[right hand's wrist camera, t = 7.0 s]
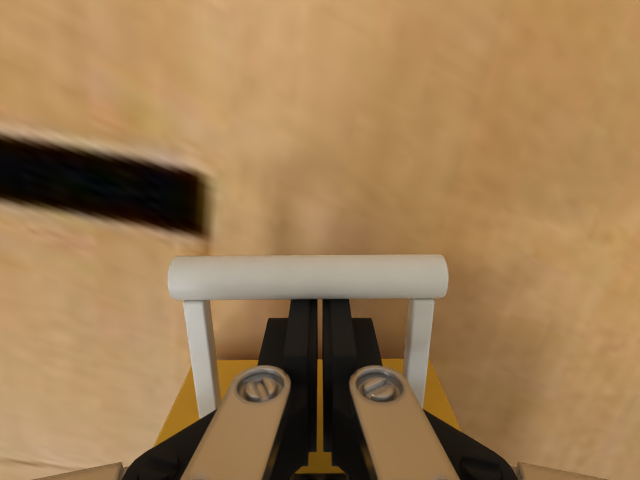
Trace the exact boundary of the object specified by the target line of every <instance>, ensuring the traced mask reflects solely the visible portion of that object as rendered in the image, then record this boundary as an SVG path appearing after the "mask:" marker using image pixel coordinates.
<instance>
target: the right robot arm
mask: <svg viewBox="0 0 640 480" xmlns="http://www.w3.org/2000/svg"><path fill="white" fill-rule="evenodd" d="M322 367H323V452H331V460H332V466H338V467H339V468H340V469H341V470H343V471H344V472H345V473H346V480H607V479H602V478H596V477H591V476H586V475H581V474H576V473H571V472H566V471H561V470H556V469H551V468H546V467H541V466H536V465H531V464H526V463H521V462H518V465H517V468H515V467H511V466H510V465H509V464H508V463H507V462H506V461H505V460H504V459H503V458H502V457H500V456H499V455H498V454H496V453H495V452H493V451H492V450H490V449H488V448H487V447H485V446H484V445H482V444H480V443H479V442H477V441H475V440H474V439H472V438H470V437H469V436H467V435H465V434H464V433H462V432H460V431H459V430H457V429H455V428H454V427H452V426H451V425H449V424H447V423H446V422H444V421H442V420H441V419H439V418H437V417H436V416H434V415H432V414H431V413H429V412H427V411H426V410H424V409H423V408H422V407H421V405H420V403H419V401H418V400H417V398H416V396H415V394H414V392H413V390H412V388H411V386H410V384H409V383H408V381H407V380H406V378H405V377H404V376H403V375H402V374H400V373H399V372H398V371H396V370H394V369H391V368H389V367H385V366H383V364H382V360H381V356H380V352H379V347H378V343H377V339H376V335H375V331H374V326H373V322H372V319H371V318H351V311H350V304H349V299H323V332H322ZM317 368H318V329H317V299H291V304H290V311H289V318H269V319H268V322H267V326H266V331H265V335H264V339H263V343H262V348H261V352H260V356H259V360H258V364H257V366H255V367H251V368H249V369H246V370H244V371H242V372H241V373H240V374H238V375H237V376H236V377H235V378H234V380H233V381H232V383H231V384H230V386H229V388H228V390H227V392H226V394H225V396H224V398H223V400H222V401H221V403H220V405H219V407H218V408H217V409H216V410H214V411H213V412H211V413H209V414H208V415H206V416H204V417H203V418H201V419H199V420H198V421H196V422H194V423H193V424H191V425H189V426H188V427H186V428H185V429H183V430H181V431H180V432H178V433H176V434H175V435H173V436H171V437H170V438H168V439H166V440H165V441H163V442H161V443H160V444H158V445H156V446H155V447H153V448H152V449H150V450H148V451H147V452H145V453H144V454H142V455H141V456H140V457H138V458H137V459H136V460H135V461H134V462H133V463H132V464H131V465H130V466H129V467H125V468H123V465H122V462H119V463H114V464H109V465H104V466H99V467H94V468H89V469H84V470H79V471H74V472H69V473H64V474H59V475H54V476H49V477H44V478H38V479H33V480H294V473H295V472H296V471H297V470H299V469H300V468H301V467H302V466H308V461H309V452H317Z"/></svg>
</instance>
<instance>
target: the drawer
mask: <svg viewBox="0 0 640 480" xmlns="http://www.w3.org/2000/svg"><path fill="white" fill-rule="evenodd" d="M448 281H449V276H448V267H447V263H446V260H445V258H444V257H443V256H442V255H440V254H389V255H245V256H176V257H174V258H173V259H172V261H171V263H170V266H169V270H168V289H169V293H170V296H171V297H172V298H173V299H175V300H184V302H183V309H184V316H185V322H186V329H187V336H188V343H189V350H190V357H191V364H192V366H191V369H190V371H189V373H188V375H187V377H186V379H185V381H184V383H183V386H182V388H181V390H180V392H179V394H178V396H177V398H176V400H175V402H174V405H173V407H172V409H171V411H170V413H169V415H168V417H167V419H166V422H165V424H164V426H163V428H162V430H161V432H160V434H159V436H158V438H157V441H156V443H155V445H154V447H155V446H156V445H158V444H160V443H161V442H163V441H165V440H166V439H168V438H170V437H171V436H173V435H175V434H176V433H178V432H180V431H181V430H183V429H185V428H186V427H188V426H189V425H191V424H193V423H194V422H196V421H198V420H199V419H201V418H203V417H204V416H206V415H208V414H209V413H211V412H213V411H214V410H216V409H217V408H218V407H219V405H220V403H221V401H222V400H223V398H224V396H225V394H226V392H227V390H228V388H229V386H230V384H231V383H232V381H233V380H234V378H235V377H236V376H237V375H238V374H240V373H241V372H242V371H244V370H246V369H249V368H251V367H255V366H257V364H258V360H217V359H216V350H215V341H214V333H213V324H212V316H211V307H210V300H272V299H403V298H409V302H408V314H407V325H406V337H405V349H404V359H381V360H382V364H383V366H385V367H389V368H391V369H394V370H396V371H398V372H399V373H400V374H402V375H403V376H404V377H405V378H406V380H407V381H408V383H409V384H410V386H411V388H412V390H413V392H414V394H415V396H416V398H417V400H418V401H419V403H420V405H421V407H422V408H423V409H424V410H426V411H427V412H429V413H431V414H432V415H434V416H436V417H437V418H439V419H441V420H442V421H444V422H446V423H447V424H449V425H451V426H452V427H454V428H455V429H457V430H459V431H460V432H462V431H461V429H460V427H459V425H458V422H457V420H456V418H455V415H454V413H453V411H452V409H451V406H450V404H449V402H448V399H447V397H446V395H445V393H444V390H443V388H442V386H441V383H440V381H439V379H438V377H437V374H436V372H435V370H434V367H433V365H432V363H431V361H430V359H428V357H429V348H430V339H431V331H432V322H433V313H434V304H435V301H434V299H433V298H442V297H444V296H445V295H446V292H447V289H448ZM294 480H346V473H345V472H344V471H343V470H341V469H340V468H339V467H338V466H332V460H331V452H323V367H322V359H318V368H317V452H309V461H308V466H302V467H301V468H300V469H299V470H297V471H296V472H295V473H294Z"/></svg>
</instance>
